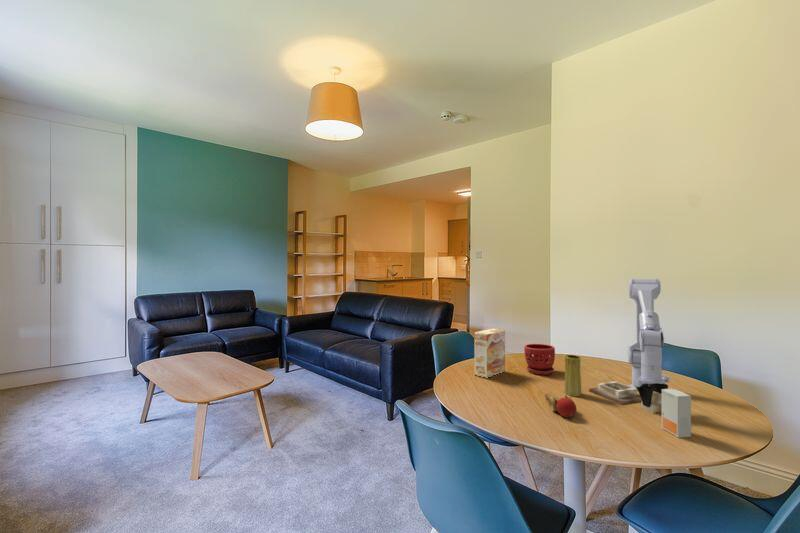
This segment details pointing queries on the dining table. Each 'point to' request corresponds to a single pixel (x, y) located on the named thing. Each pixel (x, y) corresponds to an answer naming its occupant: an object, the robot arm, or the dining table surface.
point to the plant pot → (540, 358)
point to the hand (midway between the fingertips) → (651, 405)
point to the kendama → (561, 404)
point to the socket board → (617, 392)
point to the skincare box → (676, 412)
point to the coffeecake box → (489, 352)
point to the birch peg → (654, 403)
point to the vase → (572, 375)
